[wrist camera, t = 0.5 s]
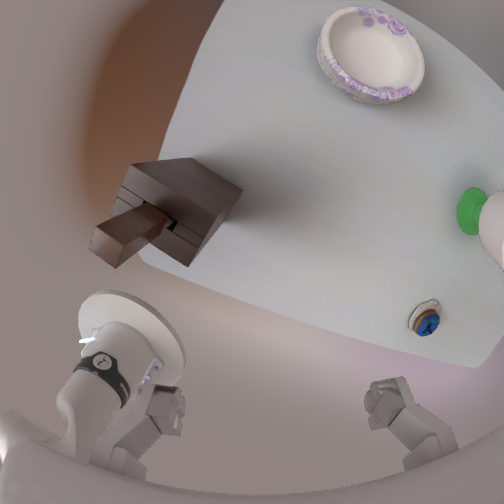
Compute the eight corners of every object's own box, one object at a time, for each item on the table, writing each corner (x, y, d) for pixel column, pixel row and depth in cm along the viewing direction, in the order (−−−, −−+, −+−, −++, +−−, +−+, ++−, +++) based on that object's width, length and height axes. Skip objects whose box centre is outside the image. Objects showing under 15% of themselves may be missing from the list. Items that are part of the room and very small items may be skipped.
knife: (178, 187, 32) (93, 224, 16) (199, 200, 32) (126, 247, 16) (171, 201, 32) (86, 247, 17) (191, 213, 33) (117, 271, 17)
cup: (468, 159, 34) (528, 170, 20) (503, 203, 35) (555, 225, 21) (435, 221, 39) (489, 253, 24) (473, 258, 40) (520, 295, 25)
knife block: (188, 157, 40) (130, 163, 23) (243, 190, 41) (217, 216, 24) (171, 190, 42) (109, 215, 25) (223, 222, 43) (187, 267, 26)
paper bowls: (394, 31, 28) (413, 14, 21) (410, 111, 33) (434, 106, 26) (306, 23, 30) (311, 0, 23) (320, 107, 35) (329, 97, 28)
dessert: (416, 341, 47) (421, 345, 42) (400, 317, 49) (404, 318, 44) (444, 318, 45) (452, 319, 40) (429, 293, 48) (435, 292, 42)
